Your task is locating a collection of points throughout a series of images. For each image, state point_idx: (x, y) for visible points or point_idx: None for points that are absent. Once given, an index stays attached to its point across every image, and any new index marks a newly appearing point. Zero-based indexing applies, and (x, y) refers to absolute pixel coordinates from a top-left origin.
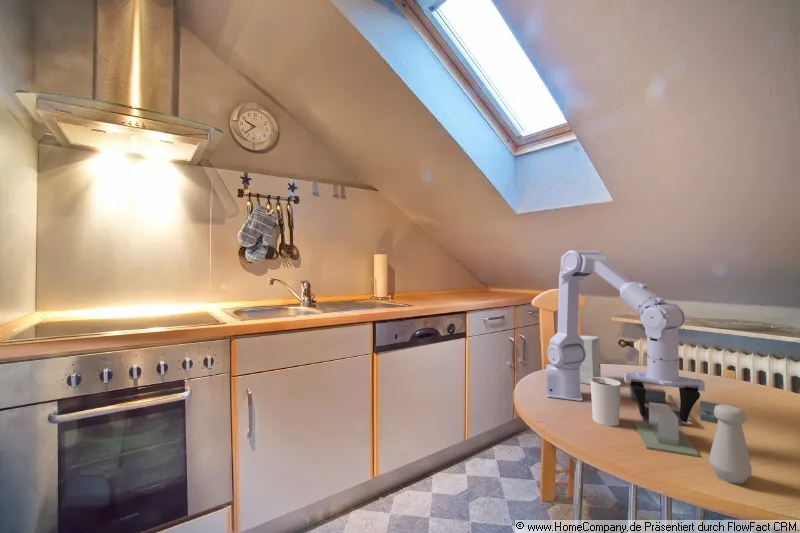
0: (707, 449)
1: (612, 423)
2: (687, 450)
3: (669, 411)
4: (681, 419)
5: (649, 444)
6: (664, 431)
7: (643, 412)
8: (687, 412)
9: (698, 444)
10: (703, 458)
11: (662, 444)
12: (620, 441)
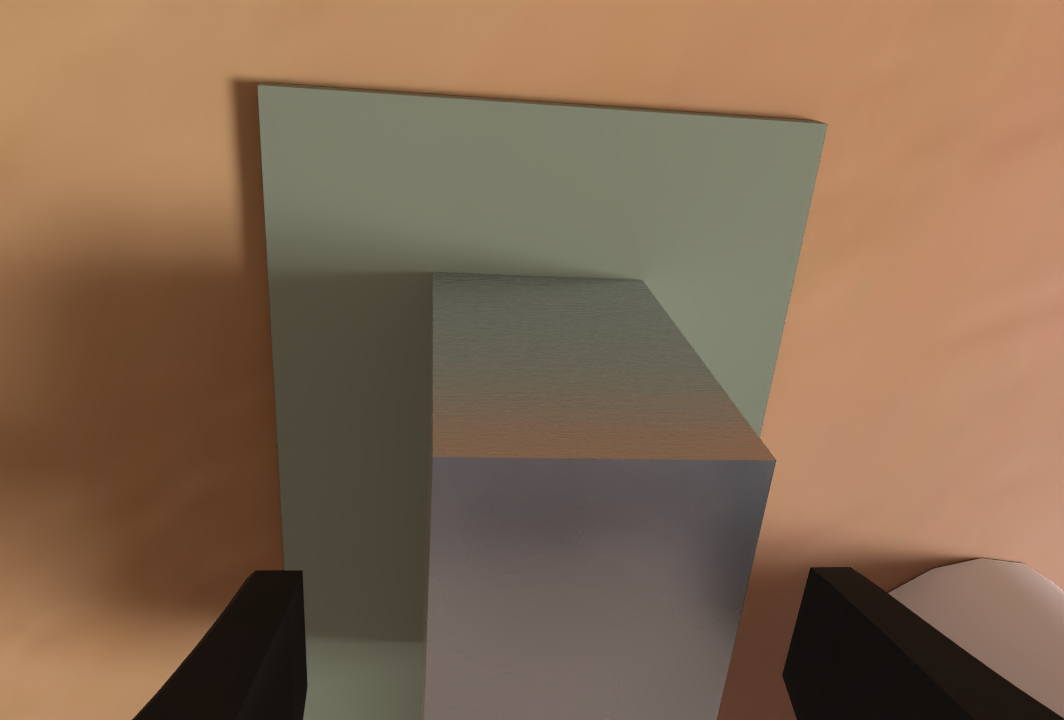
0: (113, 338)
1: (957, 585)
2: (365, 179)
3: (487, 702)
4: (305, 646)
5: (764, 200)
6: (611, 334)
7: (879, 600)
8: (203, 685)
9: (182, 434)
10: (221, 61)
11: (610, 251)
12: (1031, 222)
